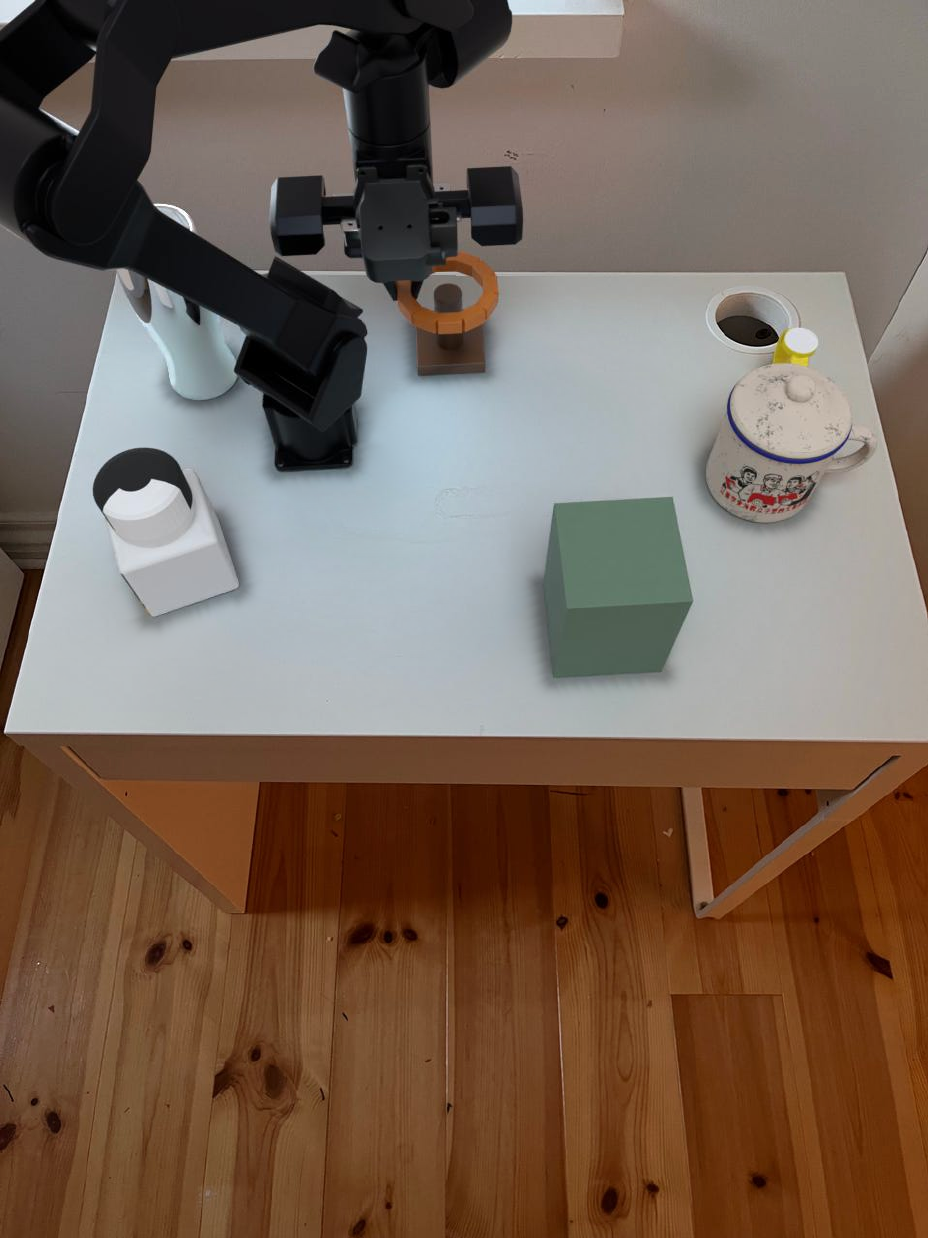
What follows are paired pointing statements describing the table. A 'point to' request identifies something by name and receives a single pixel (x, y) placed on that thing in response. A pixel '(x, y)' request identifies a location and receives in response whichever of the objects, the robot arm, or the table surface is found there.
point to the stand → (449, 341)
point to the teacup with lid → (781, 441)
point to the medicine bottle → (163, 530)
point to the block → (614, 586)
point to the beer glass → (182, 331)
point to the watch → (795, 346)
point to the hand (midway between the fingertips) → (404, 296)
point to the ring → (453, 320)
